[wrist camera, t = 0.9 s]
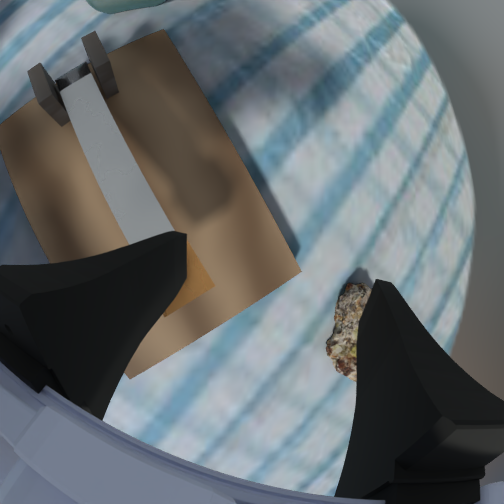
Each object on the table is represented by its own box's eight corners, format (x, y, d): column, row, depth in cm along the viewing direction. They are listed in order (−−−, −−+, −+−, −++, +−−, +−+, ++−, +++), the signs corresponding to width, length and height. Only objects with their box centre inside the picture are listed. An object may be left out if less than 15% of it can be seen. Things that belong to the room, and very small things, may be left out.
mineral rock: (404, 361, 28) (359, 403, 24) (374, 354, 32) (328, 390, 28) (397, 268, 27) (346, 299, 23) (363, 267, 31) (310, 294, 27)
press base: (131, 368, 22) (124, 415, 16) (4, 135, 17) (-37, 112, 11) (291, 268, 26) (334, 283, 19) (163, 41, 21) (167, -9, 14)
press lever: (168, 313, 16) (164, 317, 14) (58, 91, 16) (49, 78, 14) (213, 285, 17) (215, 285, 15) (94, 70, 16) (87, 55, 15)
